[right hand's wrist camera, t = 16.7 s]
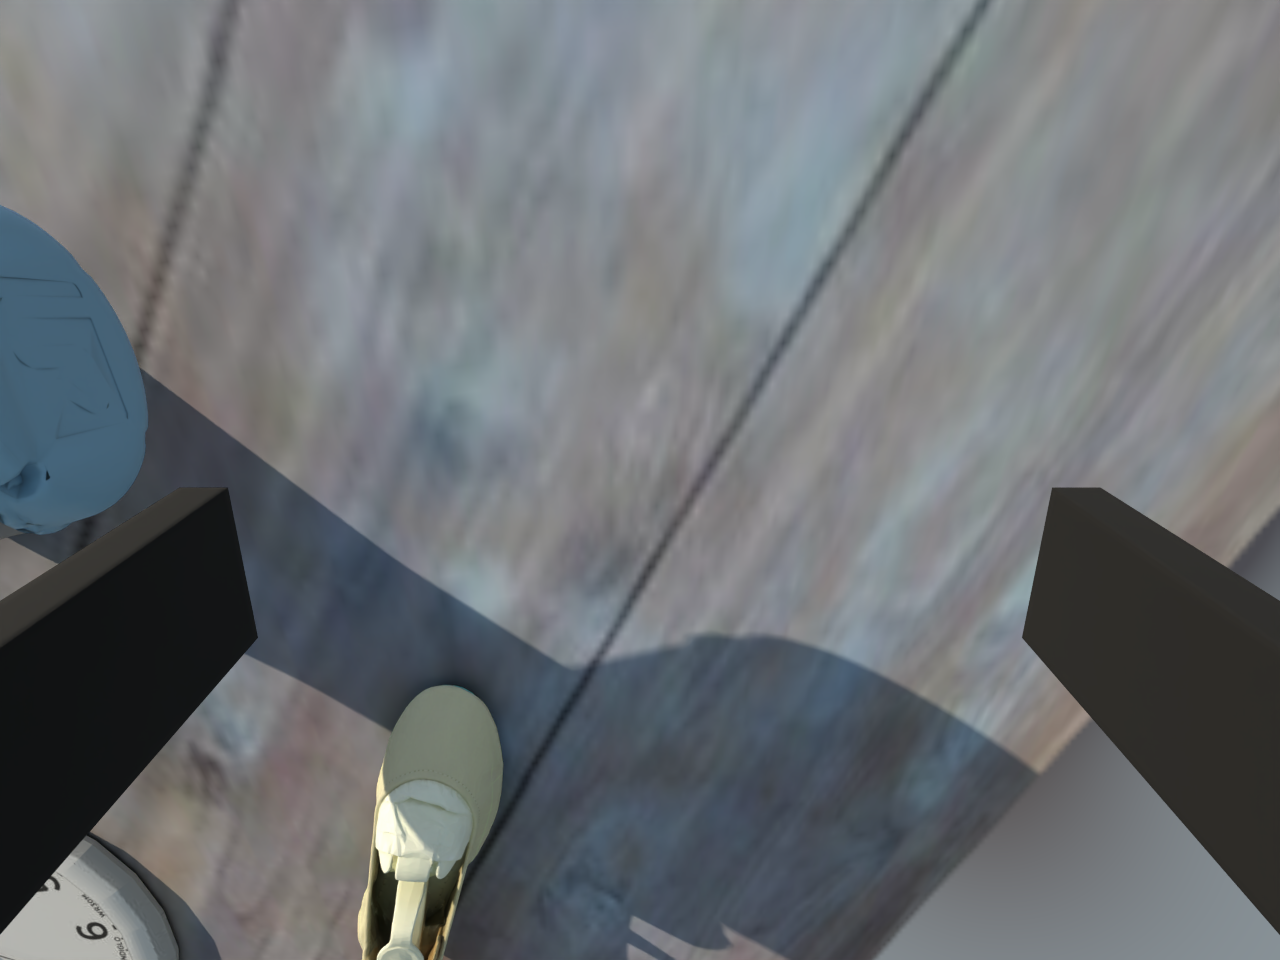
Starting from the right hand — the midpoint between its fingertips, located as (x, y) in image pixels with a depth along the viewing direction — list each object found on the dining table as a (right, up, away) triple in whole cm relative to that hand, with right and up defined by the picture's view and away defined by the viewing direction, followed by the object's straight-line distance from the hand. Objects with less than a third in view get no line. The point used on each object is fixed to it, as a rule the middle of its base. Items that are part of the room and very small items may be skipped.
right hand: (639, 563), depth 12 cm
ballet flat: (-15, -23, +43) cm, 51 cm away
